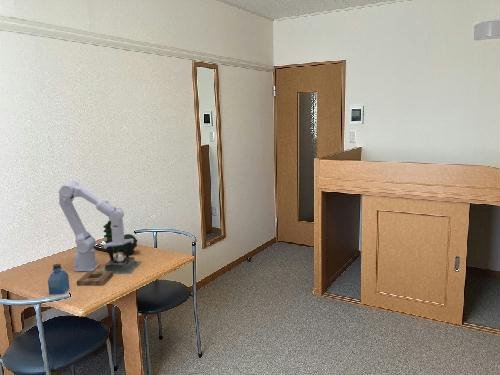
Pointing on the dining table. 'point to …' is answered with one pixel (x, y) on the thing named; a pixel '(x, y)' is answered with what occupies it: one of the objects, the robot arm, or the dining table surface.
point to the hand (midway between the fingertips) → (119, 259)
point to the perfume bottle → (58, 281)
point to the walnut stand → (102, 276)
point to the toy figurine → (127, 236)
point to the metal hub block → (122, 266)
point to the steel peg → (119, 257)
